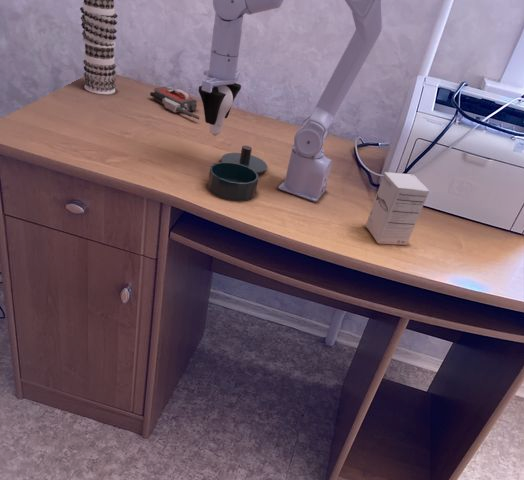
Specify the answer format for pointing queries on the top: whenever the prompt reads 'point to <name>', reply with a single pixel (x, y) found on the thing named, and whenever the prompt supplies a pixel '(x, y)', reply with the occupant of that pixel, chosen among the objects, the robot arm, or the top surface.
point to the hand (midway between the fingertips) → (216, 120)
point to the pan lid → (246, 160)
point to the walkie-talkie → (175, 100)
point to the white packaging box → (396, 208)
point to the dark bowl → (232, 181)
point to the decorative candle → (99, 45)
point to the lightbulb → (222, 109)
